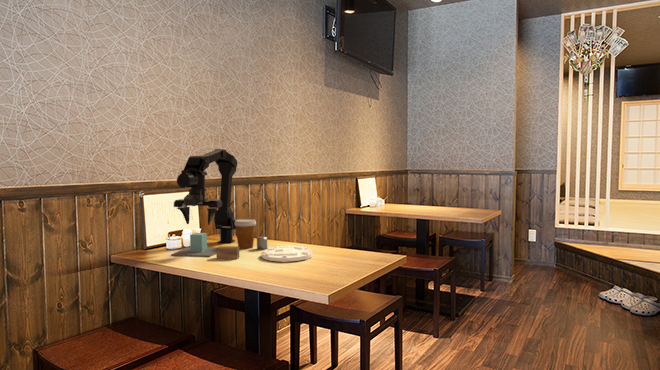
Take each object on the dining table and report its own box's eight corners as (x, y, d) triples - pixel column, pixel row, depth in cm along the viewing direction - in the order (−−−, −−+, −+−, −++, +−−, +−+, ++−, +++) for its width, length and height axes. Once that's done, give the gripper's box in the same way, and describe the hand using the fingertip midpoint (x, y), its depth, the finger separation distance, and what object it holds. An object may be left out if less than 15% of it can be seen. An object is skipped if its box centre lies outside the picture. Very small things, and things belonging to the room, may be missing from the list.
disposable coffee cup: (232, 246, 189) (232, 219, 189) (253, 244, 193) (253, 218, 193) (237, 250, 181) (236, 222, 180) (259, 248, 185) (259, 221, 184)
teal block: (195, 249, 180) (195, 232, 180) (207, 249, 179) (206, 233, 179) (190, 251, 175) (190, 234, 175) (202, 252, 174) (201, 235, 174)
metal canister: (258, 247, 186) (258, 236, 186) (268, 248, 186) (268, 236, 186) (255, 249, 182) (255, 238, 182) (265, 250, 181) (265, 238, 181)
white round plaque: (252, 261, 163) (252, 254, 163) (274, 251, 182) (274, 244, 181) (301, 265, 157) (301, 257, 157) (319, 253, 176) (318, 246, 176)
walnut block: (219, 257, 168) (218, 246, 168) (239, 257, 168) (239, 246, 168) (216, 259, 165) (216, 248, 164) (237, 259, 164) (237, 248, 164)
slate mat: (189, 247, 186) (189, 246, 186) (224, 248, 184) (224, 247, 184) (171, 255, 170) (171, 254, 170) (209, 257, 168) (209, 255, 168)
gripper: (166, 187, 169) (167, 226, 170) (211, 187, 166) (212, 227, 167) (180, 185, 180) (180, 222, 181) (222, 186, 177) (222, 223, 178)
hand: (198, 224), depth 176 cm, fingers open, 9 cm apart
